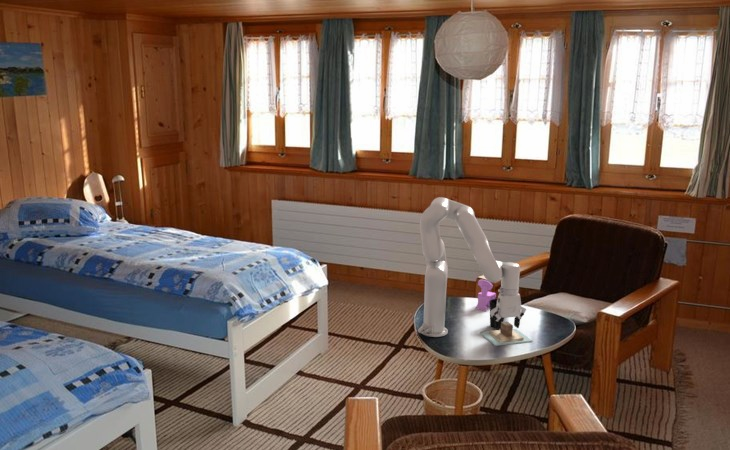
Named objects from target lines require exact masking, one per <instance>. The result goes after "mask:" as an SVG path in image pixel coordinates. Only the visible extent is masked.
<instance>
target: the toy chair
mask: <svg viewBox="0 0 730 450" xmlns="http://www.w3.org/2000/svg"><path fill="white" fill-rule="evenodd" d="M477 286H479V287H480V289H481V292H478V293H477V303H476V306H475V309H478V310H481V311H485V312H488V311H487V306H488V307H490V300H492V299H496V297H497V293H496V292H492V291H491V290H492V289H493V286H494V285H493V283H492V282H489V281H487V280H486V279H479V280H478V281H477Z"/></svg>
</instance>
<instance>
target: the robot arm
mask: <svg viewBox="0 0 730 450" xmlns="http://www.w3.org/2000/svg"><path fill="white" fill-rule="evenodd" d="M475 215H476V214H475V211H474V209H473V208H472V207H471V206H469V205H466V204H464V203H461V202H458V201H456V200H451V199H449V198H447V197H442V196H441V197H440V196H439V197H435V198H434V199H433V200H432V201H431V203H430V205H428V207H427V208H426V209H425V210H424V211H423V212H422V214H421V216H420V219H419V232H420V239H421V246H422V247H421V248H422V249H421V252H422V254H423V257H424V258H425V260H424V261H425V266H426V269H425V275H424V297H423V298H424V299H423V301H424V303H423V318H422V319H423V323H422V324H421V326H420V327H419V328H418V329H417V333H418V334H422V335H423V336H425V337H433V338H441V337H444V336H446V335H448V331H449V330H448V328H446V327H445V324H446V322H445V321H446V306H447V305H446V304H447V302H446V301H447V283H448V273H449V269H448V268H449V267H448V261H447V260H448V259H447V254H446V253H447V251H446V247H445V242H444V241H443V239H442V238H441V237H442V236H441V229H440V228H441V227H440V225H441V224H440V223H441V222H442V221H443V220H445V219H447V220H450V221H453V222H455V224H456V226H457V227H458V229H459V231H460V233H461V234H462V237H463V238H464V240H465V243H466V244H467V246H468V248H469V251H470V252H471V254H472V255H473V257H474V259H475V262H476V263H477V266H478V268H479V269H480V272H481V273H482V275H483V276H484V278H485V280H486V281H489V282H490V283H491V284H495V283H498V282H499V281H500V287H499V288H498V290H497V291H498V296H497V299H498V300H497V305H496V308H494V309H492V310H491V311H490V310H489V315H490V314H491V317H492V318H493V319H494V327H495V328H496V329H495V328H494V329H495V330H500V329H499V327H500V321H499V320H500V318H501V317H502V318H504V319H505V318H506V319H507V318H514V321H513V327H515V328H516V329H519V328H520V325H521V324H520V323H521V322H520V321H521V320H522V317H524V315H525V313H526V311H527V308H525V306H524V307H523V306H522V301H521V300H522V299H521V294H520V293H519V290H520V287H519V285H520V276H521V275H520V274H521V266H520V264H518V263H517V262H512V261H511V262H510V261H507V262H505V261H504V262H503V261H501V260H496V259H495V256H494V255H493V252H492V250H491V248H490V243H489V240H488V238H487V236H486V234H485V233H484V230H483V229H482V227H481V225H480V224H479V221H478V219H477V218H476V216H475ZM495 312H496V315H494V313H495Z"/></svg>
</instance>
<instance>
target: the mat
mask: <svg viewBox="0 0 730 450" xmlns="http://www.w3.org/2000/svg"><path fill="white" fill-rule="evenodd" d="M513 330H514V331H515V332H516V333H518V334H519V335H520V336H522V337H523V338H524V340H520V341H510V342H500V341H498V340H497V339H496V338H495V337H493V336H492V335H491V334H490V333H489V331H482V332H481V331H480V335H481V336H482V337H484V338H485V339H486V340H487V341H489V342H490V343H491V344H492V345H494V346H495V347H497V346H507V345H508V346H509V345H515V344H526V343H532V342H533V340H532V339H531V338H530V337H528V336H527V335H526V334H524V333H522V332H521V331H520V330H518V328H513Z"/></svg>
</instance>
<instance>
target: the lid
mask: <svg viewBox="0 0 730 450" xmlns="http://www.w3.org/2000/svg"><path fill="white" fill-rule="evenodd" d="M513 329H514V324H511V322H509V321H508V320H507V321H503V322H501V328H500V329H499V330H497V329H495V330H493V329H492V330H489V331H488V332H489V333H490V334H491V335H492V336H493V337H495V338H496V339H497V340H498V341H500V342H510V341H520V340H524V338H523V337H522V336H520V335H519V334H518V333H516V332H515V331H514V330H513Z"/></svg>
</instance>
